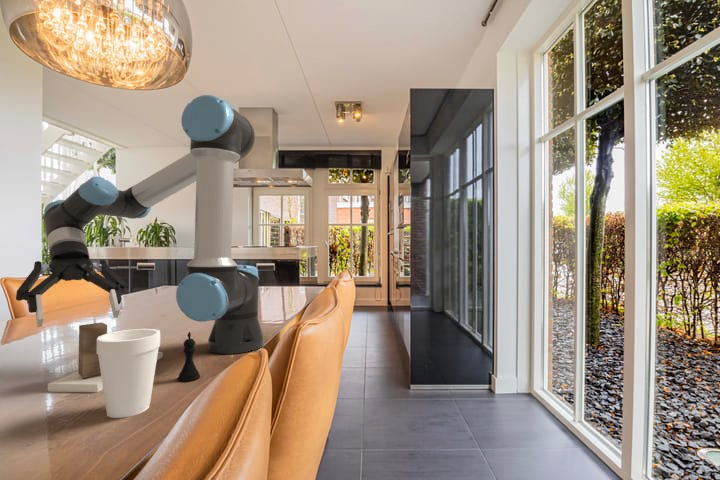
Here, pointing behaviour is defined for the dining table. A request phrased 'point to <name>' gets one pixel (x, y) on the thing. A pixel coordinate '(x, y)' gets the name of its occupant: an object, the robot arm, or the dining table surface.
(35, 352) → the dining table surface
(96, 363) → the stub
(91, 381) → the white perforated board
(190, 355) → the chess piece
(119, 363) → the foam cup
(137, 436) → the dining table surface
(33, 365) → the dining table surface
